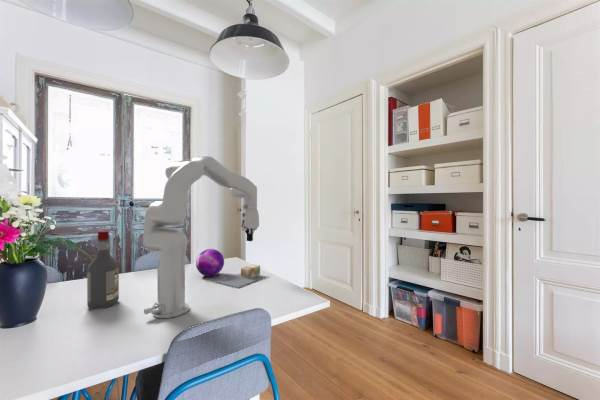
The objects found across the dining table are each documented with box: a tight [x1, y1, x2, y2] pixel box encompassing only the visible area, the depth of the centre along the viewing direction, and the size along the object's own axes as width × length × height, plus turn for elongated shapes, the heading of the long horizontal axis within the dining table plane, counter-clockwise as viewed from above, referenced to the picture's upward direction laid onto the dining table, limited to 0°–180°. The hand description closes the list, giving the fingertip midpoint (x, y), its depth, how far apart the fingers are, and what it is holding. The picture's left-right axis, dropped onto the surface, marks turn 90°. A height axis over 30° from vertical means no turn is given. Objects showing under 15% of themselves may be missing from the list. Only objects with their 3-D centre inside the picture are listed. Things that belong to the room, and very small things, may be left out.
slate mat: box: [215, 273, 266, 289], centre depth 143 cm, size 20×16×1 cm
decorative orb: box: [195, 248, 225, 277], centre depth 152 cm, size 15×15×15 cm
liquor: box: [86, 230, 120, 310], centre depth 110 cm, size 9×9×30 cm
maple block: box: [240, 264, 261, 279], centre depth 149 cm, size 5×5×10 cm
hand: (249, 240), depth 148 cm, fingers closed
